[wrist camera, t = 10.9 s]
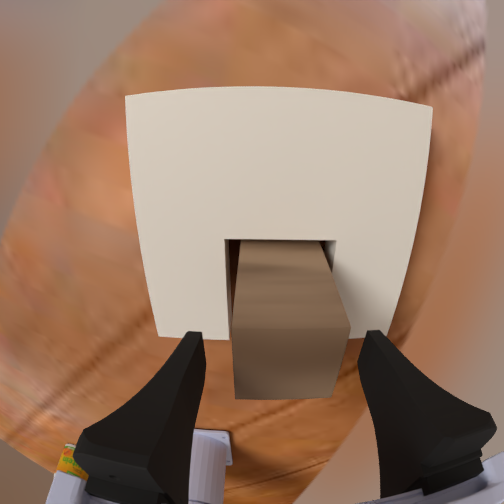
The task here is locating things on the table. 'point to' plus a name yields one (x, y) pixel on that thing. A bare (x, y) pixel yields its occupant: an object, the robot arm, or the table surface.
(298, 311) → the peg
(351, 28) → the table surface
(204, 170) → the socket block
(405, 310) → the table surface
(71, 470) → the supplement bottle
